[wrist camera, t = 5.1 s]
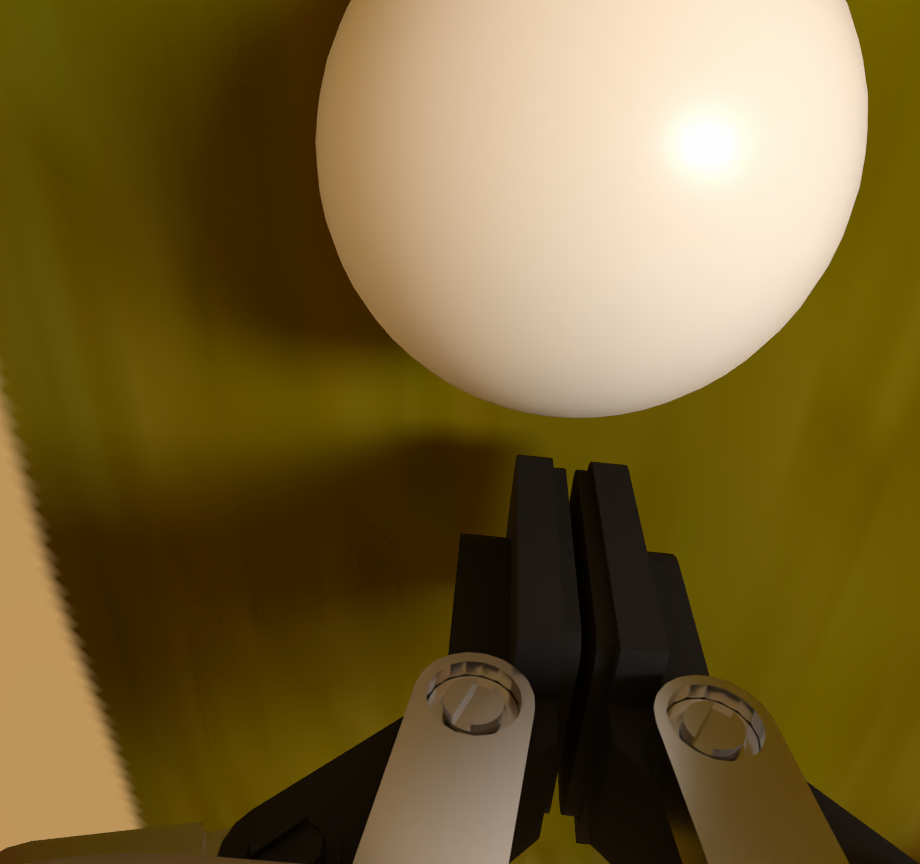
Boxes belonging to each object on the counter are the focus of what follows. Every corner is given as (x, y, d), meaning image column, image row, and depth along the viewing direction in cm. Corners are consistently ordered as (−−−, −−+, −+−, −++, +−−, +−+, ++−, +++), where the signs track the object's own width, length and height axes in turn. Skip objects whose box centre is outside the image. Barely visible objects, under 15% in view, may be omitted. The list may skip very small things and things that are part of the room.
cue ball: (1002, -140, 4) (838, -297, 8) (106, 66, 6) (316, -143, 9) (888, 515, 8) (813, 203, 12) (366, 531, 10) (445, 253, 13)
